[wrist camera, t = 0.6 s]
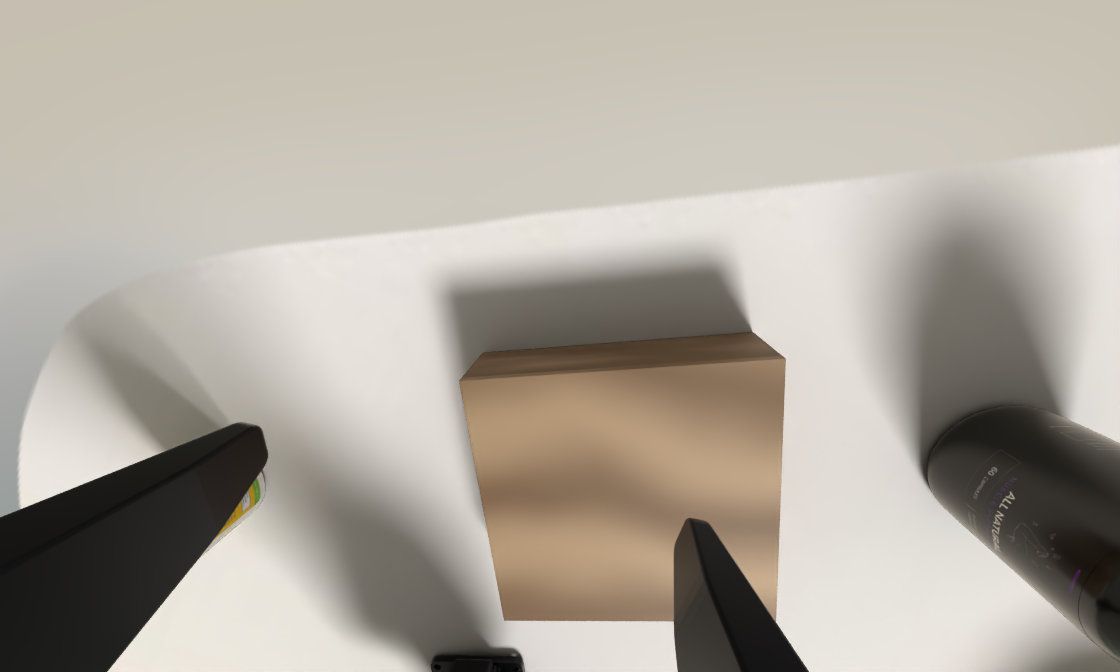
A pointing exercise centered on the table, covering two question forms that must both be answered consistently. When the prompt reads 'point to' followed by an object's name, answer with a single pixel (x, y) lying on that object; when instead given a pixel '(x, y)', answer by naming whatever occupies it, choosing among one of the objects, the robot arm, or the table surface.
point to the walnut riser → (625, 469)
